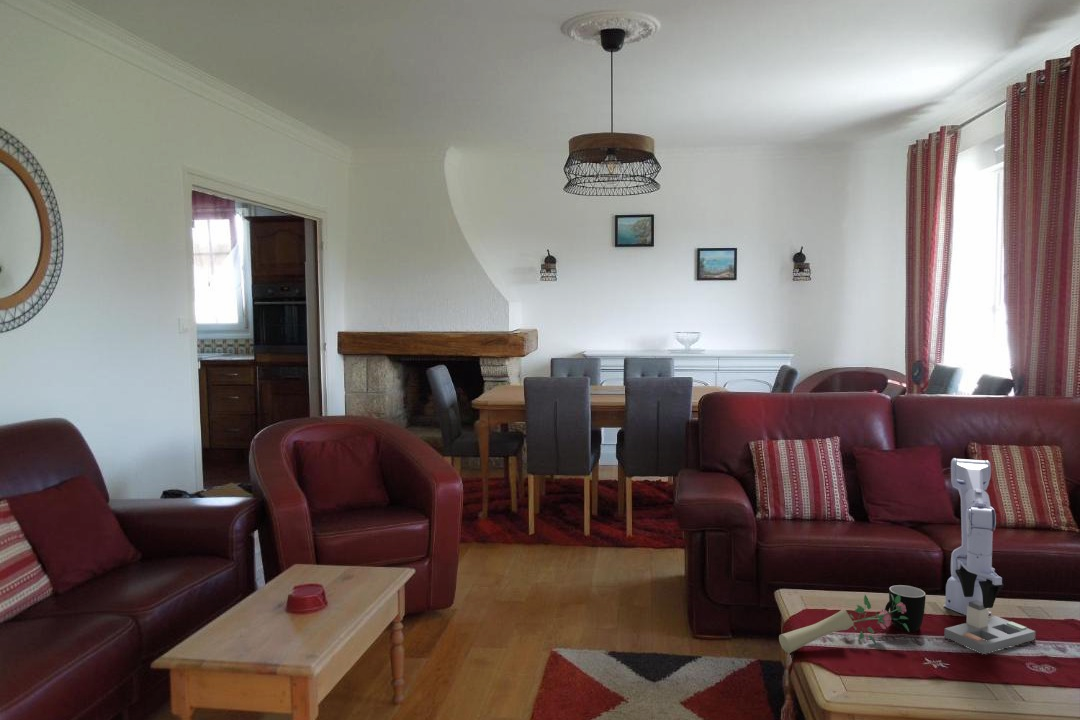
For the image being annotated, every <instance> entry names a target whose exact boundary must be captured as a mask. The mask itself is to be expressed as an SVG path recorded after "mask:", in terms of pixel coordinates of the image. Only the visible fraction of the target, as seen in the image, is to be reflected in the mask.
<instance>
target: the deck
mask: <svg viewBox="0 0 1080 720" xmlns="http://www.w3.org/2000/svg"><path fill="white" fill-rule="evenodd" d="M1005 632H1006V633H1005ZM1007 633H1009V634H1007ZM943 634H944V635H943V637H946V638H945V639H947V638H949V639H951V640H954V641H956V642H958V643H960V644H963V645H965V646H967V647H969V648H971V649H974V650H976V651H978V652H980V653H982V654H981V655H983V654H985V653H989V652H992V651H995V650H998V649H1002V648H1006V647H1009V646H1013V645H1017V644H1020V643H1023V642H1027V641H1031V640H1034V639H1035V640H1036V630H1033V629H1031V628H1028V627H1027V626H1026V625H1025V626H1024V625H1023V624H1019V623H1017V622H1014V621H1010V620H1007V619H1005V618H1002V617H999V616H997V615H992V616H989V617H988V626H987V627H983V628H977V627H974V626H972V625H969V624H967V622H965V623H961V624H957V625H954V626H953V625H952V626H949V627H946V628H945V627H944V633H943ZM949 639H948V640H949ZM983 639H985V640H983ZM951 640H950V641H951ZM986 640H987V641H986ZM956 642H955V643H956ZM958 643H957V644H958ZM960 644H959V645H960ZM965 646H964V647H965ZM1017 646H1018V645H1017ZM967 647H966V648H967ZM969 648H968V649H969ZM971 649H970V650H971ZM974 650H973V651H974ZM976 651H975V652H976ZM978 652H977V653H978ZM980 653H979V654H980ZM992 653H993V652H992ZM989 654H990V653H989ZM985 655H986V654H985Z"/></svg>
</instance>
